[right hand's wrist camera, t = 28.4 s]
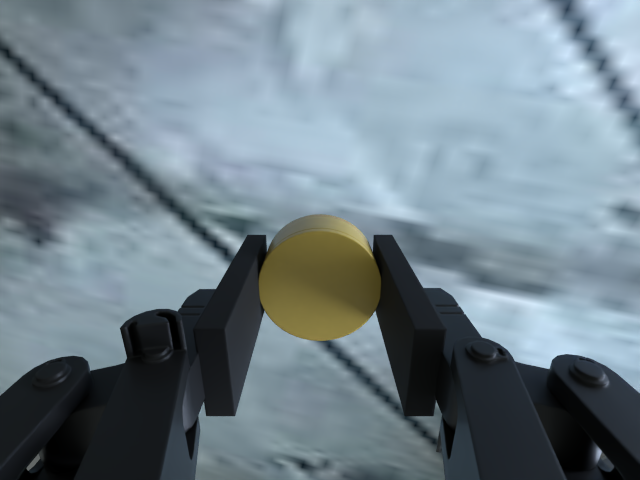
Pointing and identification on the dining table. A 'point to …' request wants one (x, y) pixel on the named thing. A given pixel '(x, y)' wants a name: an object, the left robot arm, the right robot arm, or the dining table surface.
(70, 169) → the dining table surface
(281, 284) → the cap
